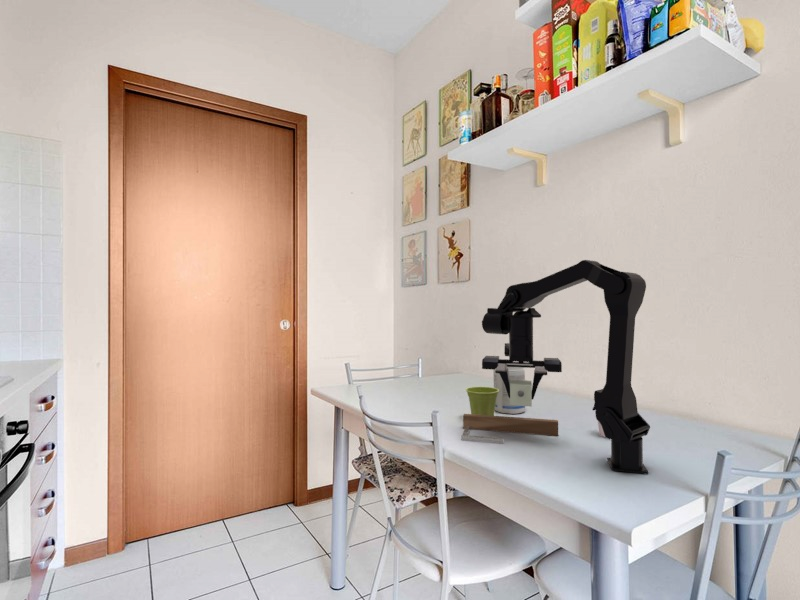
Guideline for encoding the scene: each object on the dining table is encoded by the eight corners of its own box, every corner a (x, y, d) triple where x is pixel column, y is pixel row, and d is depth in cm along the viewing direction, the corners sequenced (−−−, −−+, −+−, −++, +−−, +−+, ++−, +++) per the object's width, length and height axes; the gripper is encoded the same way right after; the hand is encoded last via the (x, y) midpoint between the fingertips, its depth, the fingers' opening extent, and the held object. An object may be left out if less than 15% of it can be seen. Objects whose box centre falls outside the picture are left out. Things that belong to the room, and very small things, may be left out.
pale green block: (531, 407, 105) (531, 386, 105) (510, 405, 106) (510, 385, 106) (531, 400, 112) (531, 380, 112) (511, 399, 114) (511, 379, 114)
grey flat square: (503, 443, 105) (503, 439, 105) (461, 439, 108) (461, 435, 108) (505, 432, 114) (505, 428, 114) (466, 429, 117) (466, 425, 117)
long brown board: (558, 435, 111) (558, 422, 111) (463, 428, 118) (463, 415, 118) (557, 433, 113) (557, 420, 113) (464, 426, 120) (464, 413, 120)
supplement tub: (531, 411, 138) (531, 363, 138) (514, 416, 131) (514, 366, 131) (504, 406, 145) (504, 361, 145) (487, 410, 138) (487, 363, 138)
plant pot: (482, 425, 121) (482, 394, 121) (459, 418, 129) (459, 388, 129) (506, 420, 126) (505, 390, 126) (482, 414, 134) (482, 385, 134)
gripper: (558, 334, 115) (558, 394, 115) (486, 332, 120) (486, 390, 120) (561, 337, 104) (561, 403, 104) (481, 335, 109) (481, 398, 109)
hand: (521, 398), depth 110 cm, fingers closed on pale green block, 5 cm apart
